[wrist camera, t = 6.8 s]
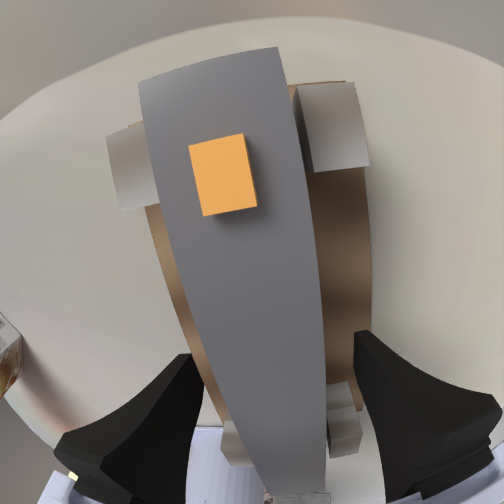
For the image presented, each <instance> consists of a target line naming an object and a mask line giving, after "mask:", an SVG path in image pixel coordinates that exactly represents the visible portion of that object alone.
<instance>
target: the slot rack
mask: <svg viewBox="0 0 504 504" xmlns="http://www.w3.org/2000/svg"><path fill="white" fill-rule="evenodd" d="M287 87H288V91H289V95H290V100H291V104H292V109H293V114H294V118H295V123H296V128H297V133H298V138H299V143H300V149H301V154H302V159H303V165H304V171H305V177H306V183H307V189H308V195H309V202H310V209H311V216H312V223H313V230H314V238H315V246H316V254H317V263H318V272H319V282H320V293H321V304H322V317H323V331H324V348H325V369H326V435H327V441H328V448H329V455H330V458H336V457H341V456H345V455H350V454H354V453H358V450H359V446H360V441H361V437H362V430H361V426H360V422H359V419H358V415H357V411H362V407H363V397H362V394H361V392H360V389H359V387H358V384H357V380H356V376H355V372H354V368H353V352H354V332H357V331H362V330H366V329H367V330H369V331H370V323H371V252H370V233H369V219H368V207H367V197H366V188H365V180H364V172H363V167H365V166H370V160H369V153H368V147H367V141H366V136H365V130H364V125H363V120H362V115H361V110H360V106H359V101H358V97H357V93H356V89H355V85H354V82H346V81H330V82H316V83H305V84H295V85H287ZM106 142H107V148H108V154H109V159H110V164H111V170H112V175H113V179H114V184H115V189H116V193H117V197H118V201H119V206H120V210H121V213H123V212H126V211H130V210H134V209H137V208H141V207H145V211H146V215H147V219H148V223H149V226H150V230H151V234H152V237H153V241H154V245H155V248H156V252H157V255H158V258H159V262H160V265H161V268H162V272H163V275H164V278H165V281H166V284H167V287H168V290H169V293H170V296H171V299H172V302H173V305H174V308H175V311H176V314H177V316H178V319H179V322H180V325H181V327H182V330H183V333H184V335H185V338H186V341H187V343H188V346H189V348H190V351H191V353H192V356H193V358H194V361H195V363H196V366H197V368H198V370H199V373H200V375H201V377H202V380H203V382H204V384H205V387H206V389H207V391H208V393H209V396H210V398H211V400H212V402H213V404H214V406H215V409H216V411H217V413H218V415H219V417H220V419H221V421H222V423H223V425H224V428H223V434H222V440H221V446H220V450H221V451H222V453H223V455H224V456H225V458H226V459H227V461H228V462H229V464H230V465H231V467H254V465H253V463H252V461H251V459H250V457H249V455H248V452H247V450H246V448H245V446H244V444H243V442H242V440H241V438H240V436H239V433H238V431H237V429H236V427H235V424H234V422H233V420H232V418H231V415H230V413H229V411H228V409H227V406H226V404H225V401H224V399H223V397H222V394H221V392H220V389H219V387H218V384H217V382H216V379H215V377H214V374H213V372H212V369H211V367H210V364H209V361H208V359H207V356H206V353H205V351H204V348H203V345H202V342H201V340H200V337H199V334H198V331H197V328H196V325H195V322H194V320H193V317H192V314H191V311H190V308H189V304H188V301H187V298H186V295H185V292H184V289H183V286H182V282H181V279H180V276H179V272H178V269H177V266H176V262H175V259H174V255H173V252H172V248H171V244H170V241H169V237H168V233H167V229H166V225H165V222H164V218H163V214H162V210H161V205H160V201H159V197H158V193H157V188H156V184H155V179H154V175H153V170H152V165H151V160H150V155H149V150H148V145H147V139H146V134H145V128H144V122H143V121H140V122H137V123H135V124H132V125H129V126H128V128H126V129H124V130H121V131H119V132H116V133H114V134H112V135H109V136H107V137H106Z"/></svg>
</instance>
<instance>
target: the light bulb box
mask: <svg viewBox="0 0 504 504" xmlns="http://www.w3.org/2000/svg"><path fill="white" fill-rule="evenodd" d="M263 504H331V498H330V493H304V494H295V495H283V496H270V495H269V493H266V494H264V502H263Z"/></svg>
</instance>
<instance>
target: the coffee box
mask: <svg viewBox="0 0 504 504" xmlns="http://www.w3.org/2000/svg"><path fill="white" fill-rule="evenodd" d="M22 373H23V362H22V336H21V334H20V333H19V332H18V331H17V330H16V329H15V328H14V327H13V326H12V325H11V324H10V323H9V322H8V321H7V320H6V318H5V317H4V316H3V315H2V314H1V313H0V399H1V398H2V396H3V395H4V394H5V393H6V392H7V391H8V389H9V388H10V387H11V386H12V385H13V384H14V383H15V381H16V380H17V379H18V378H19V377H20V376H21V375H22Z"/></svg>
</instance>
